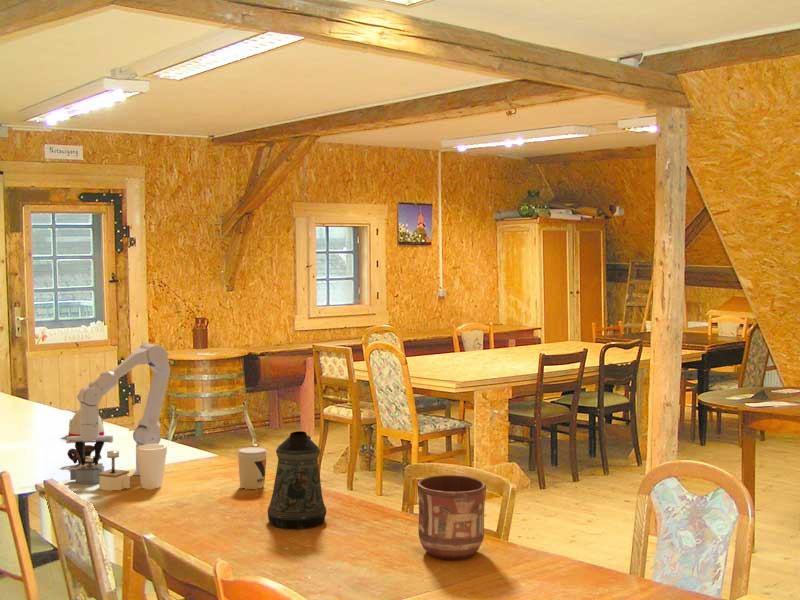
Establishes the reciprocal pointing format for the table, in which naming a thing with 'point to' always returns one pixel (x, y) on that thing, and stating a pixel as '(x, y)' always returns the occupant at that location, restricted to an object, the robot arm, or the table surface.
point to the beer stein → (297, 485)
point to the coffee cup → (252, 467)
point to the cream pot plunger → (113, 458)
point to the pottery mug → (75, 456)
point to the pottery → (451, 515)
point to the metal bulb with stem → (89, 460)
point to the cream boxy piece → (114, 480)
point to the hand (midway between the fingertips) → (89, 464)
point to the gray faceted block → (86, 473)
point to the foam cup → (151, 464)
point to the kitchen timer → (76, 426)
